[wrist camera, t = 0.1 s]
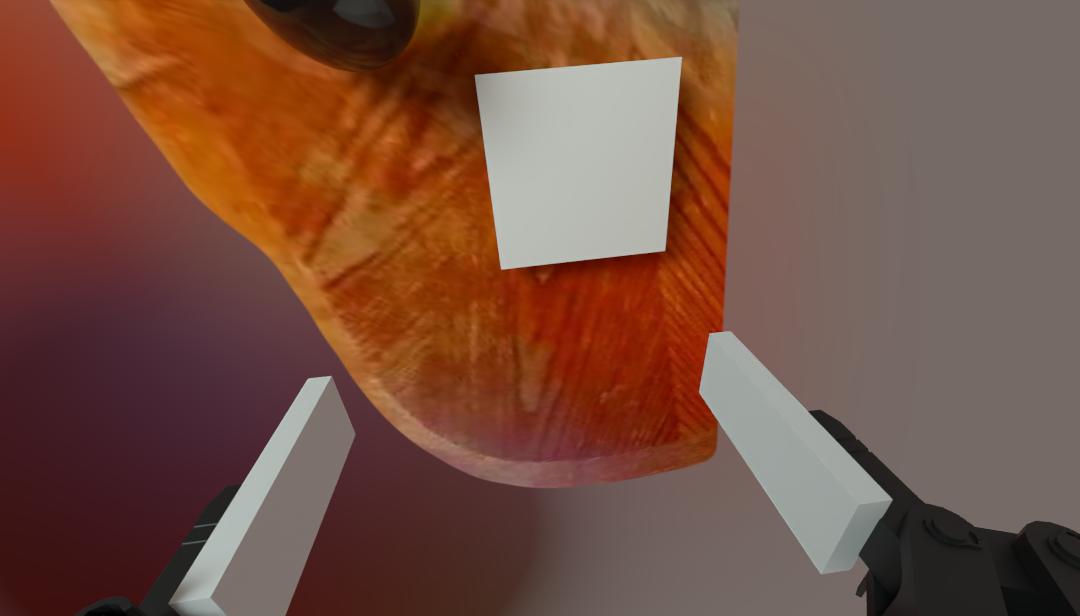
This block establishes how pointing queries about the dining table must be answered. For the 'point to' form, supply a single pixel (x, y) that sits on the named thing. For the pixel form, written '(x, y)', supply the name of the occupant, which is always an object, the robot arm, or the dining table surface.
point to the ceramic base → (580, 159)
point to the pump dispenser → (342, 29)
